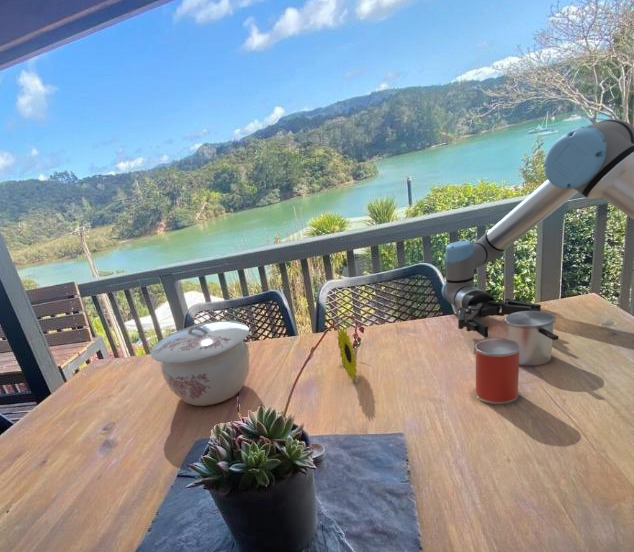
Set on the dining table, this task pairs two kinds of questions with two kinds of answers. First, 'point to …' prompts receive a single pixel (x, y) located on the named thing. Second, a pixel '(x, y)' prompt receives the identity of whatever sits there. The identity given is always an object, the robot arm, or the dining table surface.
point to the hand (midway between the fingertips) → (515, 326)
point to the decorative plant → (347, 353)
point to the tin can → (497, 371)
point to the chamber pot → (205, 361)
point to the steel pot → (531, 335)
